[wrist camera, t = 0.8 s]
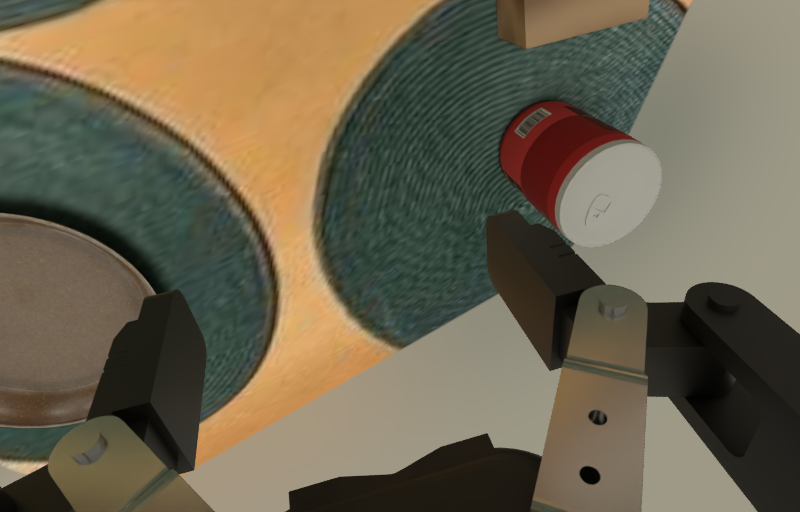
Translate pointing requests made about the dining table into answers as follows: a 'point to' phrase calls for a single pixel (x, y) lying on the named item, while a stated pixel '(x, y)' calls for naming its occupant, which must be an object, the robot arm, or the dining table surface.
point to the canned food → (580, 172)
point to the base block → (562, 18)
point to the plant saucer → (58, 318)
